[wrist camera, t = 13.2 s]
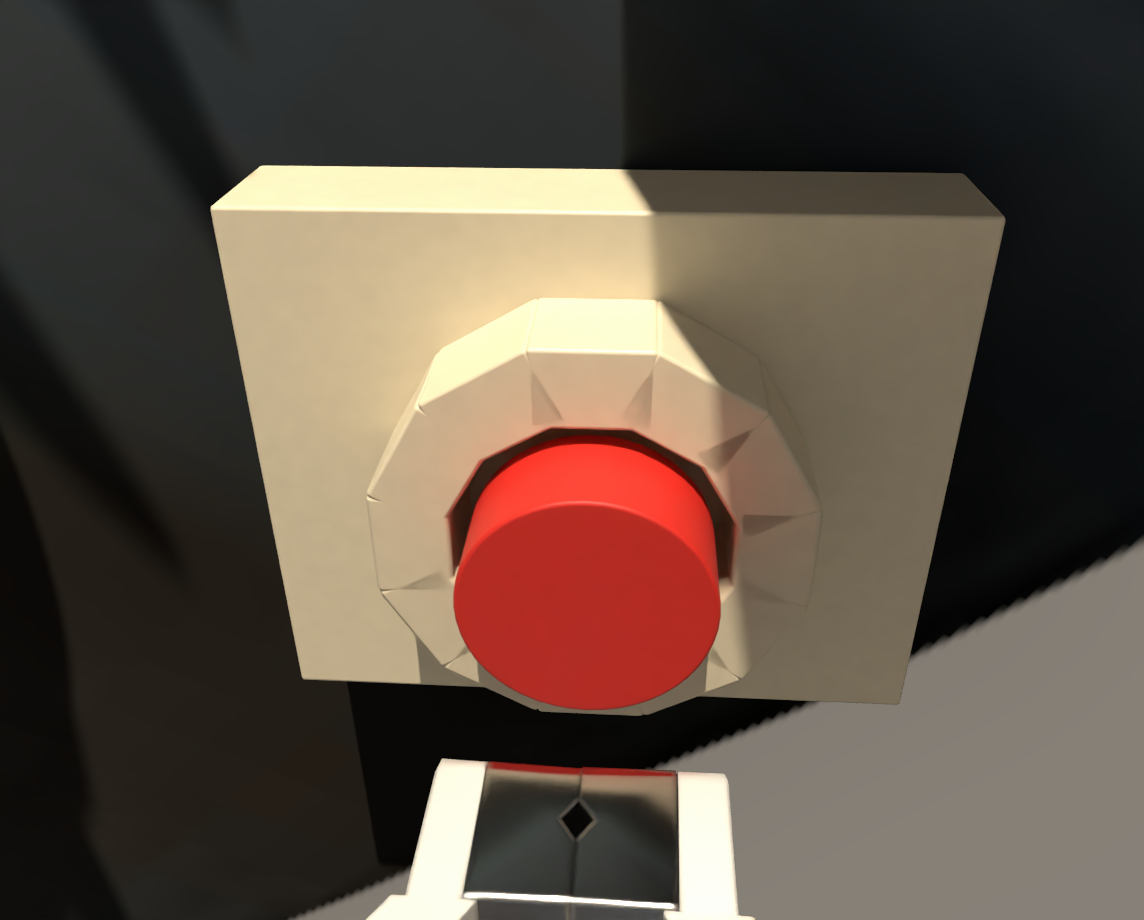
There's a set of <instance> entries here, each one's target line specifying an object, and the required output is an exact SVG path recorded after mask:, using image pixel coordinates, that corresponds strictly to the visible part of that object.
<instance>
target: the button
mask: <svg viewBox="0 0 1144 920" xmlns="http://www.w3.org/2000/svg"><path fill="white" fill-rule="evenodd" d="M453 608H454V613H455V619H456V623H457V626H458V628H459V631H460V634H461V636H462V638H463V640H464V642H465V644H466V646H467V648H468V649H469V651H470V652H471V653H472V655H473V656H474V658H475V659H476V660H477V661H478V662H479V663H480V665H481V666H482V667H483V668H484V669H485V670H486V671H487V672H489V673H490V674H491V675H492V676H493V677H494V678H496V679H497V680H498V681H500V682H501V683H503V684H504V685H506V686H507V687H509V688H510V689H512V690H514V691H516V692H518V693H520V694H522V695H524V696H526V697H529V698H531V699H534V700H536V701H539V702H543V703H546V704H550V705H553V706H558V707H563V708H569V709H578V710H608V709H618V708H623V707H628V706H633V705H636V704H640V703H643V702H646V701H649V700H651V699H654V698H656V697H658V696H661V695H663V694H665V693H666V692H668V691H670V690H671V689H673V688H675V687H676V686H678V685H679V684H680V683H682V682H683V681H684V680H686V679H687V678H688V677H689V676H690V675H691V674H692V673H693V672H694V671H695V670H696V669H697V668H698V667H699V666H700V664H701V663H702V662H703V660H704V659H705V658H706V656H707V655H708V653H709V651H710V649H711V647H712V645H713V644H714V641H715V638H716V635H717V633H718V629H719V624H720V618H721V599H720V588H719V578H718V567H717V556H716V545H715V534H714V527H713V521H712V517H711V514H710V511H709V508H708V505H707V503H706V501H705V499H704V497H703V495H702V493H701V492H700V490H699V489H698V487H697V486H696V485H695V483H694V482H693V481H692V480H691V479H690V477H689V476H688V475H687V474H686V473H685V472H684V471H683V470H682V469H681V468H679V467H678V466H677V465H676V464H674V463H673V462H672V461H671V460H669V459H668V458H666V457H665V456H663V455H661V454H660V453H658V452H656V451H654V450H652V449H650V448H648V447H646V446H643V445H641V444H638V443H635V442H632V441H629V440H626V439H621V438H616V437H611V436H601V435H574V436H567V437H561V438H556V439H553V440H549V441H545V442H542V443H540V444H537V445H535V446H533V447H530V448H528V449H526V450H525V451H523V452H521V453H519V454H517V455H516V456H514V457H513V458H512V459H510V460H509V461H508V462H506V463H505V464H504V465H502V466H501V467H500V468H499V469H498V470H497V471H496V472H495V473H494V474H493V475H492V477H491V478H490V479H489V481H488V482H487V484H486V485H485V486H484V488H483V490H482V492H481V494H480V496H479V498H478V500H477V503H476V506H475V509H474V512H473V516H472V519H471V523H470V527H469V531H468V534H467V538H466V542H465V546H464V549H463V553H462V557H461V561H460V564H459V568H458V572H457V575H456V579H455V585H454V591H453Z"/></svg>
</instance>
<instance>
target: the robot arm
mask: <svg viewBox="0 0 1144 920" xmlns="http://www.w3.org/2000/svg"><path fill="white" fill-rule="evenodd" d="M366 920H756V919H755V918H754V917H752V916H742V915H739V912H738V900H737V886H736V873H735V860H734V847H733V833H732V820H731V807H730V794H729V782H728V780H727V778H726V776H725V774H720V773H700V772H699V773H697V772H679V771H678V772H677V774H676V771H671V770H645V769H619V768H593V767H582V768H569V767H556V766H543V765H530V764H517V763H504V762H491V761H490V762H484V761H469V760H455V759H442V760H441V762H440V763H439V765H438V767H437V769H436V771H435V774H434V778H433V782H432V786H431V790H430V795H429V799H428V803H427V807H426V811H425V815H424V819H423V823H422V827H421V831H420V836H419V840H418V844H417V848H416V852H415V856H414V860H413V864H412V868H411V872H410V877H409V881H408V885H407V889H406V893H405V895H390V896H389V897H388V898H387V899H386V900H385V901H384V902H383V903H382V904H381V905H380V906H379V907H378V908H377V909H376V910H375V911H374V912H373V913H372V914H371V915H370V916H369V917H368V918H367V919H366Z"/></svg>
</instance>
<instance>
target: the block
mask: <svg viewBox="0 0 1144 920" xmlns="http://www.w3.org/2000/svg"><path fill="white" fill-rule="evenodd" d="M211 215H212V220H213V225H214V230H215V236H216V241H217V246H218V251H219V256H220V261H221V266H222V271H223V276H224V281H225V287H226V292H227V297H228V302H229V307H230V312H231V317H232V322H233V327H234V332H235V338H236V343H237V348H238V353H239V358H240V363H241V368H242V373H243V378H244V383H245V389H246V394H247V399H248V404H249V409H250V414H251V419H252V424H253V429H254V434H255V440H256V445H257V450H258V455H259V460H260V465H261V470H262V475H263V480H264V485H265V491H266V496H267V501H268V506H269V511H270V516H271V521H272V526H273V531H274V536H275V542H276V547H277V552H278V557H279V562H280V567H281V572H282V577H283V582H284V587H285V593H286V598H287V603H288V608H289V613H290V618H291V623H292V628H293V633H294V638H295V644H296V649H297V654H298V659H299V664H300V669H301V674H302V678H303V679H307V680H330V681H354V682H377V683H401V684H424V685H448V686H472V687H486V688H488V689H490V690H492V691H495V692H497V693H499V694H501V695H503V696H505V697H508V698H510V699H512V700H514V701H516V702H519V703H521V704H523V705H525V706H527V707H529V708H532V709H539V711H542V712H563V713H586V714H609V715H632V716H640V715H642V714H645V715H648V714H651V713H654V712H657V711H659V710H662V709H665V708H667V707H670V706H673V705H676V704H678V703H681V702H684V701H687V700H689V699H692V698H695V697H697V696H707V697H731V698H754V699H778V700H801V701H825V702H848V703H872V704H899V702H900V698H901V694H902V689H903V684H904V680H905V676H906V671H907V666H908V662H909V657H910V653H911V648H912V644H913V639H914V635H915V630H916V626H917V621H918V616H919V612H920V607H921V603H922V598H923V594H924V589H925V585H926V580H927V575H928V571H929V566H930V562H931V557H932V553H933V548H934V544H935V539H936V535H937V530H938V525H939V521H940V516H941V512H942V507H943V503H944V498H945V494H946V489H947V484H948V480H949V475H950V471H951V466H952V462H953V457H954V453H955V448H956V444H957V439H958V434H959V430H960V425H961V421H962V416H963V412H964V407H965V403H966V398H967V393H968V389H969V384H970V380H971V375H972V371H973V366H974V362H975V357H976V353H977V348H978V343H979V339H980V334H981V330H982V325H983V321H984V316H985V312H986V307H987V302H988V298H989V293H990V289H991V284H992V280H993V275H994V271H995V266H996V262H997V257H998V252H999V248H1000V243H1001V239H1002V234H1003V230H1004V225H1005V221H1006V220H1005V217H1004V216H1003V215H1002V213H1001V212H1000V211H999V210H998V209H997V208H996V207H995V206H994V205H993V204H992V203H991V202H990V201H989V200H988V199H987V198H986V197H985V196H984V195H983V194H982V193H981V192H980V190H979V189H978V188H977V187H976V186H975V185H974V184H973V183H972V182H971V181H970V180H969V179H968V178H967V177H966V176H965V175H964V174H962V173H893V172H800V171H708V170H616V169H523V168H431V167H339V166H260V167H259V168H258V169H256V170H255V171H254V172H253V173H251V174H250V175H249V176H248V177H247V178H245V179H244V180H243V181H242V182H240V183H239V184H238V185H237V186H236V187H234V188H233V189H232V190H231V191H229V192H228V193H227V194H226V195H224V196H223V197H222V198H221V199H220V200H218V201H217V202H216V203H215V204H213V205H212V206H211ZM574 435H601V436H611V437H616V438H621V439H626V440H629V441H632V442H635V443H638V444H641V445H643V446H646V447H648V448H650V449H652V450H654V451H656V452H658V453H660V454H661V455H663V456H665V457H666V458H668V459H669V460H671V461H672V462H673V463H674V464H676V465H677V466H678V467H679V468H681V469H682V470H683V471H684V472H685V473H686V474H687V475H688V476H689V477H690V479H691V480H692V481H693V482H694V483H695V485H696V486H697V487H698V489H699V490H700V492H701V493H702V495H703V497H704V499H705V501H706V503H707V505H708V508H709V511H710V514H711V517H712V521H713V527H714V534H715V545H716V556H717V567H718V578H719V588H720V599H721V618H720V624H719V629H718V633H717V635H716V638H715V641H714V644H713V645H712V647H711V649H710V651H709V653H708V655H707V656H706V658H705V659H704V660H703V662H702V663H701V664H700V666H699V667H698V668H697V669H696V670H695V671H694V672H693V673H692V674H691V675H690V676H689V677H688V678H687V679H686V680H684V681H683V682H682V683H680V684H679V685H678V686H676V687H675V688H673V689H671V690H670V691H668V692H666V693H665V694H663V695H661V696H658V697H656V698H654V699H651V700H649V701H646V702H643V703H640V704H636V705H633V706H628V707H623V708H618V709H608V710H578V709H569V708H563V707H558V706H553V705H550V704H546V703H543V702H539V701H536V700H534V699H531V698H529V697H526V696H524V695H522V694H520V693H518V692H516V691H514V690H512V689H510V688H509V687H507V686H506V685H504V684H503V683H501V682H500V681H498V680H497V679H496V678H494V677H493V676H492V675H491V674H490V673H489V672H487V671H486V670H485V669H484V668H483V667H482V666H481V665H480V663H479V662H478V661H477V660H476V659H475V658H474V656H473V655H472V653H471V652H470V651H469V649H468V648H467V646H466V644H465V642H464V640H463V638H462V636H461V634H460V631H459V628H458V626H457V623H456V619H455V613H454V608H453V591H454V585H455V579H456V575H457V572H458V568H459V564H460V561H461V557H462V553H463V549H464V546H465V542H466V538H467V534H468V531H469V527H470V523H471V519H472V516H473V512H474V509H475V506H476V503H477V500H478V498H479V496H480V494H481V492H482V490H483V488H484V486H485V485H486V484H487V482H488V481H489V479H490V478H491V477H492V475H493V474H494V473H495V472H496V471H497V470H498V469H499V468H500V467H501V466H502V465H504V464H505V463H506V462H508V461H509V460H510V459H512V458H513V457H514V456H516V455H517V454H519V453H521V452H523V451H525V450H526V449H528V448H530V447H533V446H535V445H537V444H540V443H542V442H545V441H549V440H553V439H556V438H561V437H567V436H574Z"/></svg>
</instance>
